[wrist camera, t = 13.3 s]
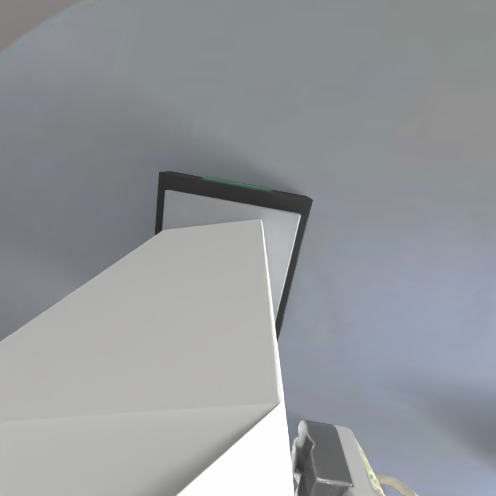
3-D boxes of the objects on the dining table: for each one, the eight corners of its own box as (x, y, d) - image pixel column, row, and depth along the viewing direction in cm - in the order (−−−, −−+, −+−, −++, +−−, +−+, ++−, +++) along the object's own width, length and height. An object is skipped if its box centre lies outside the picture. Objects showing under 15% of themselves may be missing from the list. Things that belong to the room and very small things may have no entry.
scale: (170, 169, 20) (155, 169, 18) (307, 194, 21) (315, 198, 18) (158, 313, 24) (145, 333, 21) (273, 332, 25) (276, 355, 22)
